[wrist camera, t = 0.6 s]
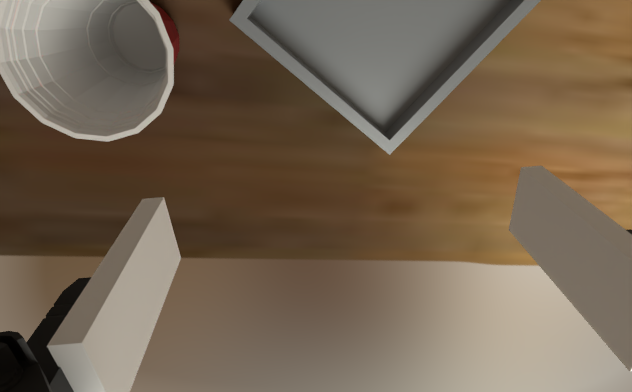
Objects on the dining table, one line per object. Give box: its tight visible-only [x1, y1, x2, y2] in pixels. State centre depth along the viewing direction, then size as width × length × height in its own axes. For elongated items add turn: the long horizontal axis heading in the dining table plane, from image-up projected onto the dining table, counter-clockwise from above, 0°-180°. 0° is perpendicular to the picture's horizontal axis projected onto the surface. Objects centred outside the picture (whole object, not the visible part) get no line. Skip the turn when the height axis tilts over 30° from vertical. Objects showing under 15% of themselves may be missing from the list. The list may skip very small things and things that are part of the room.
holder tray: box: [230, 0, 540, 155], centre depth 33 cm, size 18×18×3 cm
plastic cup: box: [0, 0, 179, 142], centre depth 30 cm, size 11×11×12 cm
